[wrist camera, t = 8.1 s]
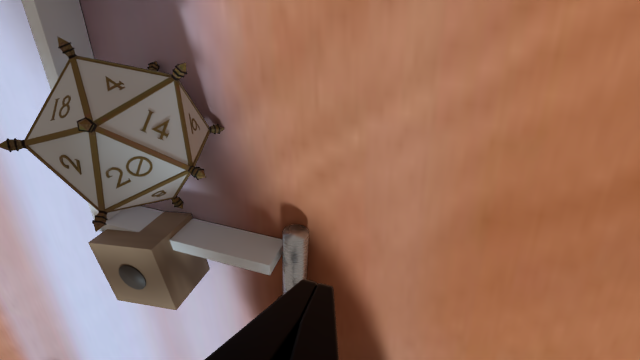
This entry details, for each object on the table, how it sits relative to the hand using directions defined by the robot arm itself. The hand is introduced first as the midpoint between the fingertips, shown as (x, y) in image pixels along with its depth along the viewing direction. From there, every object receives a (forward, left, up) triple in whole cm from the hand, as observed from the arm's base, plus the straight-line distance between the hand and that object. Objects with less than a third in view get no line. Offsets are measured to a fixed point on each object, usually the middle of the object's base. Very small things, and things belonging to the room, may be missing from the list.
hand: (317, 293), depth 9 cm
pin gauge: (-10, +4, -10) cm, 15 cm away
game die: (0, +12, -11) cm, 16 cm away
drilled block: (-10, +14, -10) cm, 20 cm away
